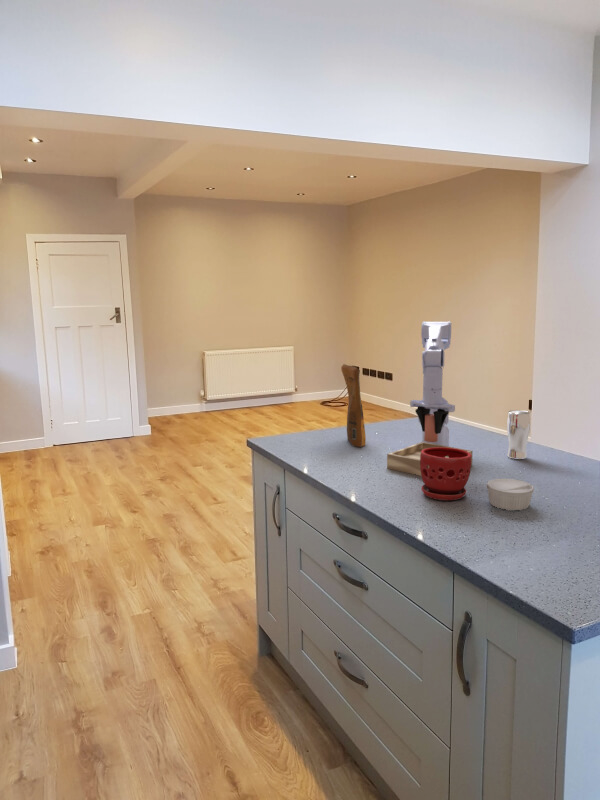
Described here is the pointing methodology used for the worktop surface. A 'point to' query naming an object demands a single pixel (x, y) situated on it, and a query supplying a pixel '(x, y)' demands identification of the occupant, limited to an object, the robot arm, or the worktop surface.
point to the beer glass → (518, 433)
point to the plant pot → (445, 472)
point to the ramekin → (509, 493)
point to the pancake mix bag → (354, 407)
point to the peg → (430, 428)
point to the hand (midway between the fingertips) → (431, 432)
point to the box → (411, 458)
